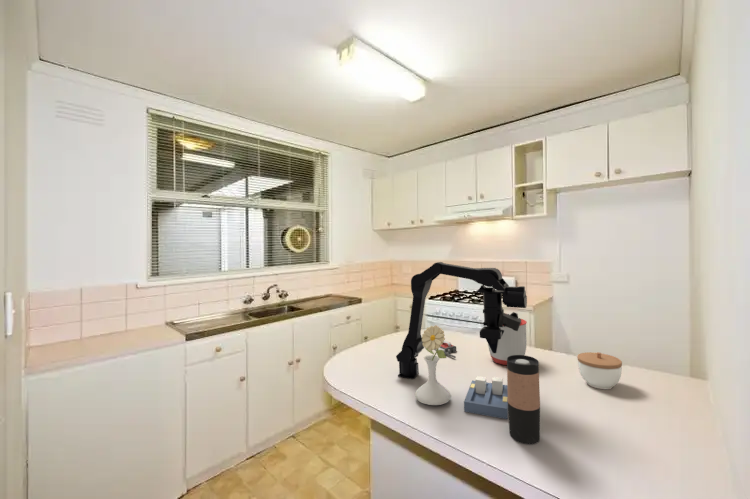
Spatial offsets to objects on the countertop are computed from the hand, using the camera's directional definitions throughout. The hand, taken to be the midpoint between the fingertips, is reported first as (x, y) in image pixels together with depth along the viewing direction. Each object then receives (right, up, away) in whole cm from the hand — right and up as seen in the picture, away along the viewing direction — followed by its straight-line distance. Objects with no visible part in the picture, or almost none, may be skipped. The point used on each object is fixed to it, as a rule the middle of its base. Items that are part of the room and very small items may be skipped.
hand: (494, 352), depth 110 cm
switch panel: (-4, -14, -6) cm, 16 cm away
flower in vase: (-21, -14, -4) cm, 26 cm away
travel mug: (-1, -14, -24) cm, 28 cm away
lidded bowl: (+37, -12, +3) cm, 39 cm away
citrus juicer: (+16, -12, +28) cm, 35 cm away
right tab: (0, -12, -3) cm, 12 cm away
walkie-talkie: (-7, -13, +42) cm, 45 cm away
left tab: (-5, -12, -2) cm, 13 cm away
